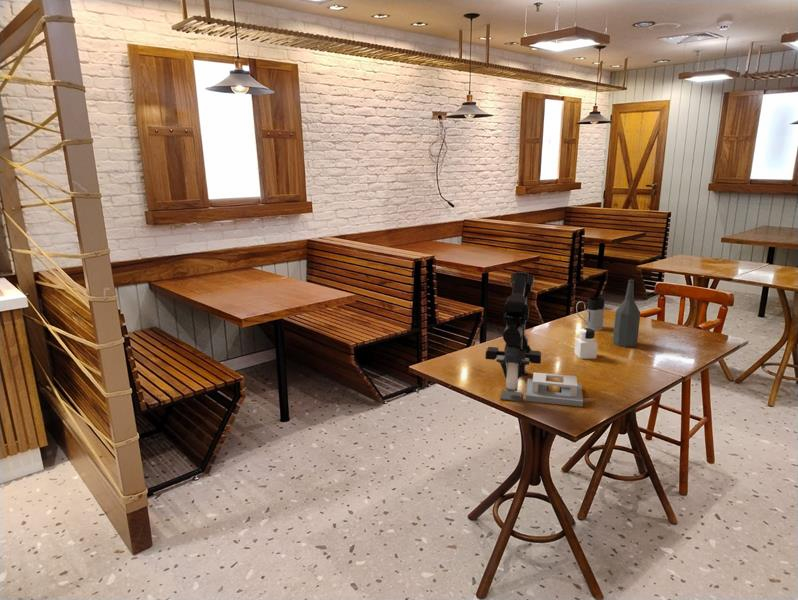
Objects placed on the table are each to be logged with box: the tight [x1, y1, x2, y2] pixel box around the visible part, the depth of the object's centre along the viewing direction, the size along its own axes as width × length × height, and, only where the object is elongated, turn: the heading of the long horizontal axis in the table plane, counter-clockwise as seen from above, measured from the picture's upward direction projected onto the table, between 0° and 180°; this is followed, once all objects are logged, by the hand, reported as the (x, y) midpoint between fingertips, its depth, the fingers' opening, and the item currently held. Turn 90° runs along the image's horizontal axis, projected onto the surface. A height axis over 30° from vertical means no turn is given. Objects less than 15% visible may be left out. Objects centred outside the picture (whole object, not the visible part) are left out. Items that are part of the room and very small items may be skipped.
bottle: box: [612, 279, 641, 348], centre depth 246 cm, size 10×10×30 cm
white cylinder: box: [505, 363, 519, 392], centre depth 192 cm, size 4×4×11 cm
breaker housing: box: [525, 372, 584, 408], centre depth 195 cm, size 16×19×6 cm
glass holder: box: [575, 296, 606, 331], centre depth 273 cm, size 9×14×15 cm, turn 91°
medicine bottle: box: [573, 327, 599, 360], centre depth 233 cm, size 7×7×12 cm
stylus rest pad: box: [500, 390, 523, 403], centre depth 194 cm, size 7×7×1 cm
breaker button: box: [548, 385, 561, 393], centre depth 195 cm, size 4×4×2 cm
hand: (512, 378), depth 192 cm, fingers closed on white cylinder, 4 cm apart
